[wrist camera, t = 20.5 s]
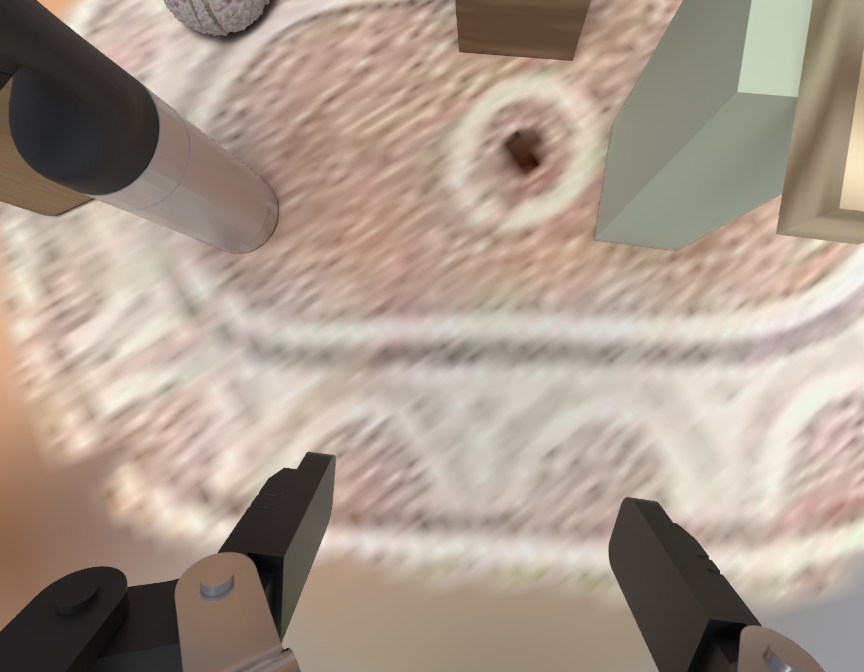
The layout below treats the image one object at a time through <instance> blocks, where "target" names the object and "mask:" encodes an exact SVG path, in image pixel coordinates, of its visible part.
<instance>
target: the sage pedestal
mask: <svg viewBox="0 0 864 672" xmlns="http://www.w3.org/2000/svg"><path fill="white" fill-rule="evenodd" d="M812 2H813V0H683V2H682V3H681V5H680V7H679V9H678V10H677V12H676V14H675V16H674V17H673V19H672V21H671V23H670V24H669V26H668V28H667V30H666V32H665V33H664V35H663V37H662V39H661V40H660V42H659V44H658V46H657V47H656V49H655V51H654V53H653V54H652V56H651V58H650V60H649V62H648V63H647V65H646V67H645V69H644V70H643V72H642V74H641V76H640V77H639V79H638V81H637V83H636V84H635V86H634V88H633V90H632V92H631V93H630V95H629V97H628V99H627V100H626V102H625V104H624V106H623V107H622V109H621V111H620V113H619V114H618V116H617V118H616V120H615V122H614V123H613V125H612V129H611V136H610V142H609V148H608V154H607V160H606V166H605V173H604V179H603V185H602V191H601V197H600V203H599V210H598V216H597V222H596V228H595V234H594V240H597V241H605V242H613V243H620V244H628V245H636V246H643V247H651V248H659V249H666V250H674V251H676V250H678V249H680V248H682V247H684V246H686V245H688V244H690V243H691V242H693V241H695V240H697V239H699V238H701V237H703V236H704V235H706V234H708V233H710V232H712V231H714V230H716V229H718V228H719V227H721V226H723V225H725V224H727V223H729V222H731V221H733V220H734V219H736V218H738V217H740V216H742V215H744V214H746V213H747V212H749V211H751V210H753V209H755V208H757V207H759V206H761V205H762V204H764V203H766V202H768V201H770V200H772V199H774V198H776V197H777V196H779V195H781V194H782V193H783V187H784V180H785V174H786V168H787V161H788V155H789V149H790V142H791V136H792V130H793V123H794V117H795V110H796V104H797V98H798V91H799V85H800V79H801V72H802V66H803V60H804V53H805V47H806V40H807V34H808V28H809V21H810V15H811V9H812Z"/></svg>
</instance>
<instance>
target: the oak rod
mask: <svg viewBox="0 0 864 672" xmlns="http://www.w3.org/2000/svg"><path fill="white" fill-rule="evenodd" d="M776 234H779V235H787V236H795V237H802V238H810V239H818V240H826V241H834V242H842V243H850V244H861V243H864V0H813V2H812V9H811V15H810V21H809V28H808V34H807V40H806V47H805V53H804V60H803V66H802V72H801V79H800V85H799V91H798V98H797V104H796V110H795V117H794V123H793V130H792V136H791V142H790V149H789V155H788V161H787V168H786V174H785V180H784V187H783V193H782V200H781V206H780V212H779V219H778V225H777V231H776Z"/></svg>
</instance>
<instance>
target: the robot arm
mask: <svg viewBox="0 0 864 672" xmlns="http://www.w3.org/2000/svg"><path fill="white" fill-rule="evenodd" d="M12 76H13V79H12V86H11V94H10V99H9V112H8V117H9V126H10V132H11V136H12V139H13V141H14V144H15V146H16V148H17V150H18V152H19V154H20V155H21V157H22V158H23V159H24V160H25V162H26V163H27V164H28V165H29V166H30V167H31V168H32V169H33V170H35V171H36V172H38V173H39V174H40V175H42V176H43V177H45V178H47V179H48V180H51V181H53V182H55V183H57V184H59V185H62V186H64V187H67V188H69V189H72V190H74V191H77V192H80V193H82V194H85V195H87V196H90V197H92V198H95V199H97V200H100V201H102V202H105V203H107V204H110V205H112V206H115V207H117V208H120V209H123V210H125V211H128V212H130V213H133V214H135V215H138V216H140V217H142V218H145V219H147V220H150V221H152V222H155V223H157V224H160V225H162V226H165V227H167V228H170V229H172V230H175V231H177V232H180V233H182V234H185V235H187V236H190V237H192V238H195V239H197V240H200V241H202V242H204V243H207V244H209V245H212V246H214V247H217V248H219V249H222V250H224V251H227V252H231V253H245V252H249V251H252V250H254V249H256V248H258V247H259V246H261V245H262V244H263V243H264V242H265V241H266V240H267V239H268V238H269V237H270V235H271V234H272V232H273V230H274V228H275V226H276V223H277V218H278V204H277V199H276V196H275V194H274V192H273V190H272V189H271V188H270V186H269V185H268V184H267V183H266V182H265V181H264V180H262V179H261V178H260V177H259V176H257V175H256V174H255V173H254V172H252V171H251V170H250V169H249V168H247V167H246V166H245V165H244V164H243V163H241V162H240V161H239V160H237V159H236V158H235V157H234V156H232V155H231V154H230V153H229V152H227V151H226V150H225V149H224V148H222V147H221V146H220V145H219V144H217V143H216V142H215V141H214V140H212V139H211V138H210V137H208V136H207V135H206V134H205V133H203V132H202V131H201V130H200V129H198V128H197V127H196V126H195V125H193V124H192V123H191V122H190V121H188V120H187V119H186V118H185V117H183V116H182V115H181V114H179V113H178V112H177V111H176V110H174V109H173V108H172V107H170V106H169V105H168V104H167V103H165V102H164V101H163V100H162V99H160V98H159V97H158V96H156V95H155V94H154V93H153V92H151V91H150V90H149V89H148V88H146V87H145V86H144V85H143V84H141V83H140V82H139V81H138V80H136V79H135V78H134V77H133V76H131V75H130V74H129V73H127V72H126V71H125V70H123V69H122V68H121V67H119V66H118V65H117V64H116V63H114V62H113V61H112V60H110V59H109V58H108V57H106V56H105V55H104V54H103V53H101V52H100V51H99V50H97V49H96V48H95V47H94V46H92V45H91V44H90V43H88V42H87V41H86V40H85V39H83V38H82V37H81V36H80V35H78V34H77V33H76V32H75V31H73V30H72V29H71V28H70V27H68V26H67V25H66V24H65V23H63V22H62V21H61V20H60V19H58V18H57V17H56V16H55V15H54V14H52V13H51V12H50V11H49V10H48V9H46V8H45V7H44V6H43V5H42V4H40V3H39V2H38V1H37V0H0V91H1V90H2V89H3V87H4V86H5V85H6V84H7V82H8V81H9V80H10V79H11V78H12ZM335 465H336V457H335V455H329V454H321V453H314V452H307V453H306V455H305V457H304V458H303V460H302V462H301V463H300V465H299V467H298V468H297V469H290V468H283V469H282V470H280V471H279V472H277V473H276V474H274V475H273V476H272V477H270V478H269V479H268V480H267V482H266V483H265V484H264V486H263V487H262V489H261V490H260V492H259V495H257V496H256V498H255V499H254V500H253V502H252V503H251V506H250V507H249V508H248V509H247V511H246V512H245V514H244V515H243V516H242V518H241V519H240V521H239V522H238V524H237V525H236V527H235V528H234V530H233V531H232V533H231V534H230V535H229V537H228V538H227V540H226V541H225V543H224V544H223V546H222V547H221V549H220V550H219V551H218V553H217V554H214V555H211V556H208V557H205V558H203V559H201V560H199V561H198V562H196V563H195V564H193V565H192V566H191V567H190V568H188V569H187V570H186V571H185V572H184V574H183V575H182V576H181V578H179V579H176V580H172V581H167V582H160V583H154V584H146V585H139V586H132V587H128V586H127V579H126V576H125V575H124V574H123V572H121V571H120V570H118V569H116V568H112V567H102V566H101V567H92V568H87V569H83V570H80V571H77V572H74V573H71V574H69V575H66V576H64V577H63V578H61V579H59V580H57V581H55V582H54V583H52V584H50V585H49V586H48V587H46V588H45V589H44V590H43V591H41V592H40V593H39V594H38V595H37V596H36V597H35V598H34V599H33V600H32V601H31V602H30V603H29V604H28V605H27V606H26V607H25V608H24V609H23V610H22V611H21V612H20V613H19V614H18V615H17V616H16V617H15V618H14V619H13V620H12V621H11V622H10V623H9V624H8V625H6V627H4V628H3V629H2V631H0V672H301V671H300V668H299V665H298V663H297V660H296V657H295V655H294V653H293V651H292V650H291V649H290V648H287V649H285V650H284V649H283V647H282V645H281V643H282V641H283V638H284V636H285V633H286V630H287V628H288V625H289V623H290V620H291V618H292V615H293V613H294V610H295V607H296V605H297V602H298V600H299V597H300V595H301V592H302V590H303V587H304V584H305V582H306V579H307V577H308V574H309V572H310V569H311V567H312V564H313V562H314V559H315V556H316V554H317V551H318V549H319V546H320V544H321V541H322V539H323V536H324V534H325V531H326V528H327V526H328V523H329V519H330V515H331V510H332V503H333V491H334V478H335ZM609 561H610V565H611V568H612V570H613V572H614V575H615V577H616V579H617V581H618V583H619V585H620V588H621V590H622V592H623V594H624V596H625V598H626V601H627V603H628V605H629V607H630V609H631V611H632V613H633V616H634V618H635V620H636V622H637V624H638V627H639V629H640V631H641V633H642V635H643V637H644V640H645V642H646V644H647V646H648V648H649V651H650V653H651V655H652V657H653V659H654V661H655V664H656V666H657V668H658V670H659V672H825V671H824V670H823V669H822V668H821V666H820V665H819V664H818V663H817V662H816V660H815V659H814V658H813V657H812V656H811V655H810V654H808V653H807V652H806V651H805V650H804V649H803V648H801V647H800V646H799V645H798V644H796V643H795V642H793V641H792V640H790V639H789V638H787V637H785V636H784V635H782V634H780V633H778V632H776V631H773V630H771V629H768V628H765V627H762V626H761V624H760V623H759V622H758V620H757V619H756V618H755V616H754V615H753V614H752V612H751V611H750V610H749V609H748V607H747V606H746V605H745V603H744V602H743V601H742V599H741V598H740V597H739V595H738V594H737V593H736V591H735V590H734V589H733V587H732V586H731V585H730V584H729V582H728V581H727V580H726V578H725V577H724V576H723V575H721V574H720V570H719V569H718V568H717V566H716V565H715V564H714V563H713V561H712V560H709V556H708V555H707V553H706V552H705V551H704V549H703V548H702V547H701V545H700V544H699V543H698V542H697V540H696V539H695V538H694V537H692V536H691V535H690V534H689V533H688V532H686V531H685V530H684V529H683V528H682V527H680V526H679V525H678V524H676V523H673V522H672V521H671V519H670V518H669V517H668V515H667V514H666V512H665V511H664V510H663V508H662V507H661V506H660V504H659V503H658V502H656V501H651V500H644V499H637V498H630V497H627V498H625V499H624V500H623V502H622V504H621V507H620V510H619V513H618V516H617V520H616V523H615V526H614V529H613V532H612V535H611V539H610V542H609Z"/></svg>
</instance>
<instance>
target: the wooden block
mask: <svg viewBox="0 0 864 672" xmlns="http://www.w3.org/2000/svg"><path fill="white" fill-rule="evenodd" d="M12 79H13V76H12V78H11V79H10V80H9V81H8V82H7V84H6V85H5V86H4V87H3V89H2V90H1V91H0V201H1V202H5V203H8V204H11V205H14V206H17V207H20V208H23V209H27V210H30V211H33V212H36V213H39V214H42V215H47V216H53V215H58V214H60V213H62V212H64V211H66V210H69V209H71V208H73V207H75V206H77V205H80V204H82V203H84V202H86V201H88V200H90V199H93V198H92V197H90V196H87V195H85V194H82V193H80V192H77V191H74V190H72V189H69V188H67V187H64V186H62V185H59V184H57V183H55V182H53V181H51V180H48V179H47V178H45V177H43V176H42V175H40V174H39V173H38V172H36V171H35V170H33V169H32V168H31V167H30V166H29V165H28V164H27V163H26V162H25V160H24V159H23V158H22V157H21V155H20V154H19V152H18V150H17V148H16V146H15V144H14V141H13V139H12V136H11V132H10V126H9V117H8V112H9V99H10V94H11V86H12Z"/></svg>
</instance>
